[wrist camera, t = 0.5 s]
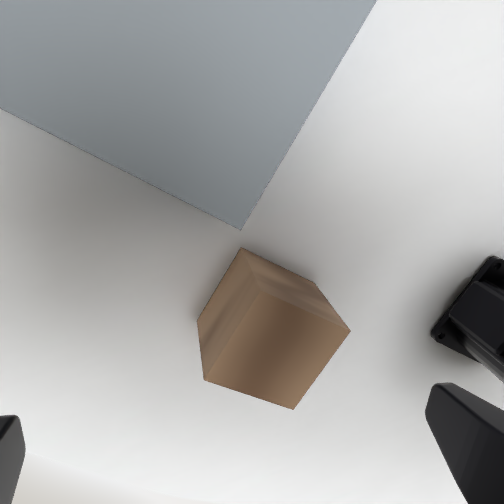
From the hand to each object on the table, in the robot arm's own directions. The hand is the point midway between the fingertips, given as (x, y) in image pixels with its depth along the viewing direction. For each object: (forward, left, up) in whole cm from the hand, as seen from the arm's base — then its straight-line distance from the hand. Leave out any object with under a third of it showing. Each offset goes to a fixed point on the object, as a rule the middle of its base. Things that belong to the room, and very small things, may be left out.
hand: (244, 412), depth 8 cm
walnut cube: (-5, +3, -13) cm, 14 cm away
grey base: (+5, -7, -12) cm, 15 cm away
